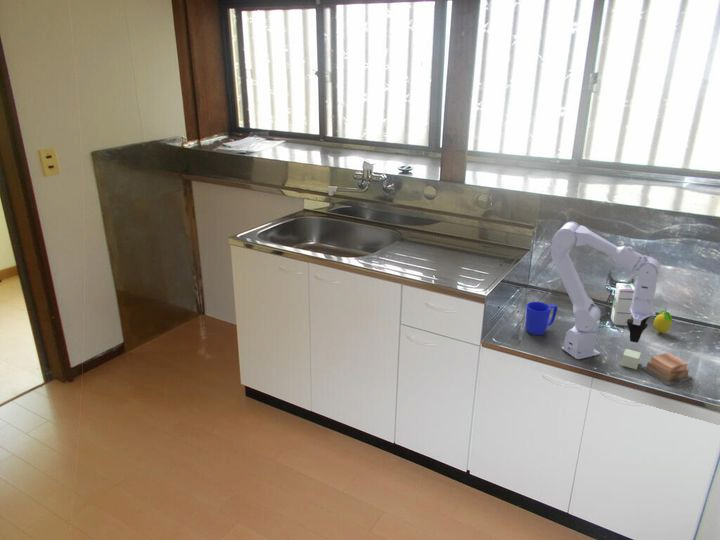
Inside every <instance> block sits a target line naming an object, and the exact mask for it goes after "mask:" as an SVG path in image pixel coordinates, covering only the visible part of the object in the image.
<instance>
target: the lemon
mask: <svg viewBox="0 0 720 540" xmlns="http://www.w3.org/2000/svg"><path fill="white" fill-rule="evenodd" d="M672 323H673V317H672V314H671V313H670V312H669V311H667V307H665V310H663V309H662V310H660V311H659V313H658V314H657V316H656V317H655V318H654V320H653V329H654V330H655V331H656V332H658V333H659V334H663V333H667V332H669V330H670V329H671V327H672Z"/></svg>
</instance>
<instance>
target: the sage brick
mask: <svg viewBox="0 0 720 540" xmlns="http://www.w3.org/2000/svg"><path fill="white" fill-rule="evenodd" d="M641 354H642V352H639V351H635V350H633V349H632V350H631V349H628V348H625V349H624V352H623V355H622V359H621V363H620V366H622V367H626V368H629V369H633V370H637V368H638V366H639V363H640V358H641Z"/></svg>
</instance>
